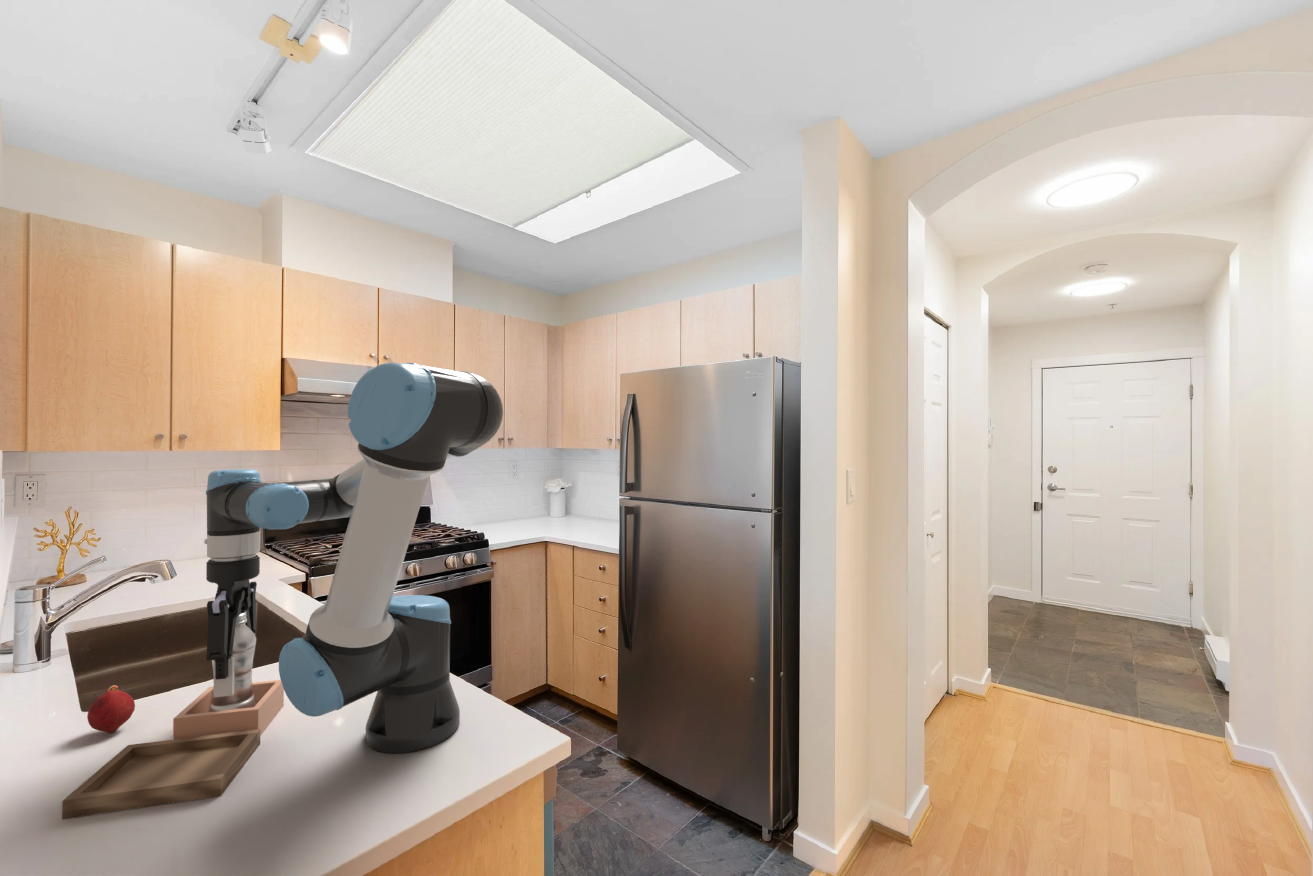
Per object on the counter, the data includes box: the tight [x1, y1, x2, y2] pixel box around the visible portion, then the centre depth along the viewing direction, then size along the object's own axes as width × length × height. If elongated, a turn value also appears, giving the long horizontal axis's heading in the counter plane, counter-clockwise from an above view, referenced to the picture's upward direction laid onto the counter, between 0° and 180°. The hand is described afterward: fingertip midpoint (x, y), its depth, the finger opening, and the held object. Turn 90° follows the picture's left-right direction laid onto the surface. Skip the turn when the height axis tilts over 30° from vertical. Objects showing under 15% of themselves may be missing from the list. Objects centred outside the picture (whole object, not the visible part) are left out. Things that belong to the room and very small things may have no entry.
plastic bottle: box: [209, 610, 257, 712], centre depth 99 cm, size 6×7×20 cm
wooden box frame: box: [172, 679, 285, 740], centre depth 99 cm, size 12×12×5 cm
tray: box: [61, 729, 261, 820], centre depth 84 cm, size 18×14×2 cm
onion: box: [86, 684, 136, 734], centre depth 96 cm, size 6×6×8 cm
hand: (232, 686), depth 99 cm, fingers closed on plastic bottle, 6 cm apart
